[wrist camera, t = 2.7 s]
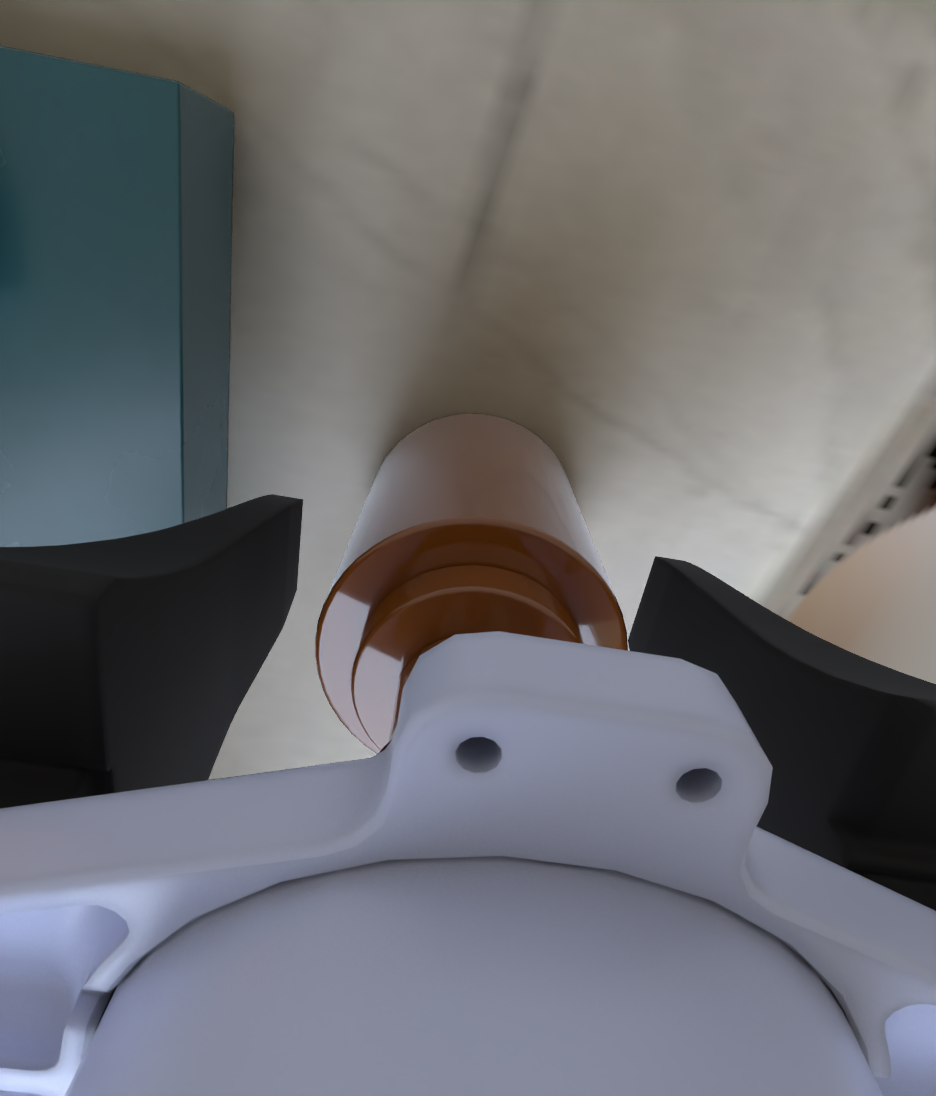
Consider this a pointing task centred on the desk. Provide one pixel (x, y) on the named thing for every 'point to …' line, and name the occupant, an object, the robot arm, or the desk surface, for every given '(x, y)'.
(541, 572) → the bottle
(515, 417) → the desk surface
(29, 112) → the teal button housing
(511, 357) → the desk surface
